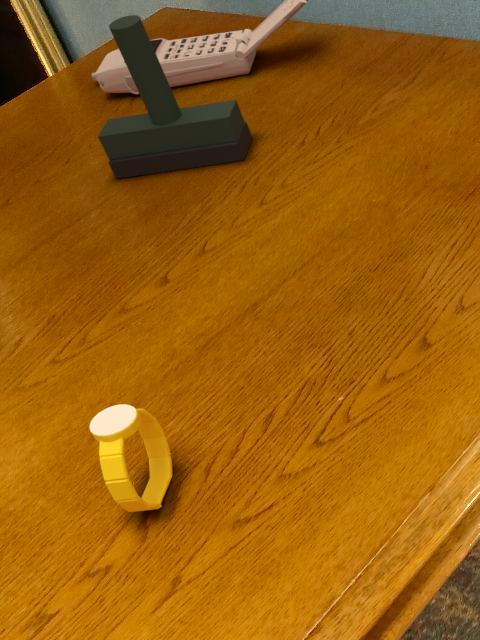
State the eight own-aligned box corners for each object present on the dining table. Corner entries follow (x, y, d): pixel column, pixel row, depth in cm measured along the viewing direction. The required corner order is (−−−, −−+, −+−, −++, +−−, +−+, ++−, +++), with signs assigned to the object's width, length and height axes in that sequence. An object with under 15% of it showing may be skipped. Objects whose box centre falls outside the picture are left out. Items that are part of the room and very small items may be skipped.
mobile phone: (306, 1, 95) (55, 45, 97) (325, 64, 99) (84, 105, 101) (313, -22, 99) (72, 20, 101) (330, 39, 103) (99, 79, 105)
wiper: (116, 179, 90) (47, 43, 81) (128, 156, 92) (63, 23, 83) (244, 160, 88) (188, 20, 79) (252, 138, 91) (200, 0, 82)
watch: (167, 526, 59) (120, 455, 55) (123, 531, 59) (72, 461, 55) (190, 455, 63) (148, 383, 58) (148, 460, 63) (103, 389, 59)
